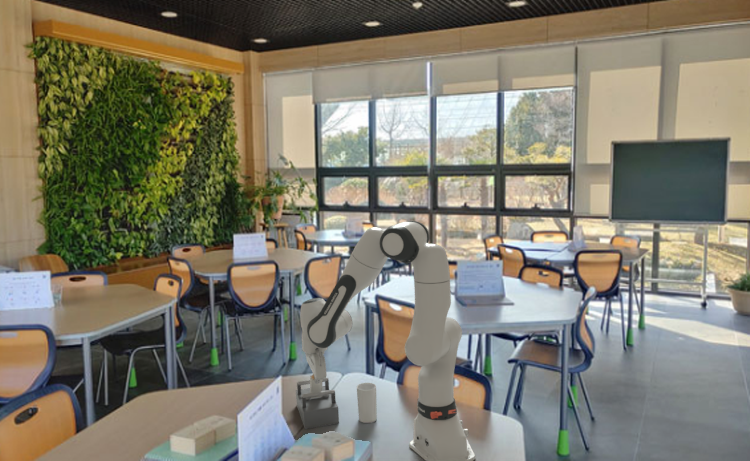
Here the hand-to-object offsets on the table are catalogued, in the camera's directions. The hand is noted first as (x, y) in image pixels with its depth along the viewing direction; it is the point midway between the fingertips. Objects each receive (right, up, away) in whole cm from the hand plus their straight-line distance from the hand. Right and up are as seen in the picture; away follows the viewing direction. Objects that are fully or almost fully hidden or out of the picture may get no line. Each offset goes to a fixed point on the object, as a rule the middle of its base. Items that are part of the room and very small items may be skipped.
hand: (317, 382), depth 197 cm
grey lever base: (-1, -13, +7) cm, 15 cm away
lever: (-1, -6, +6) cm, 9 cm away
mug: (+18, -13, +3) cm, 22 cm away
